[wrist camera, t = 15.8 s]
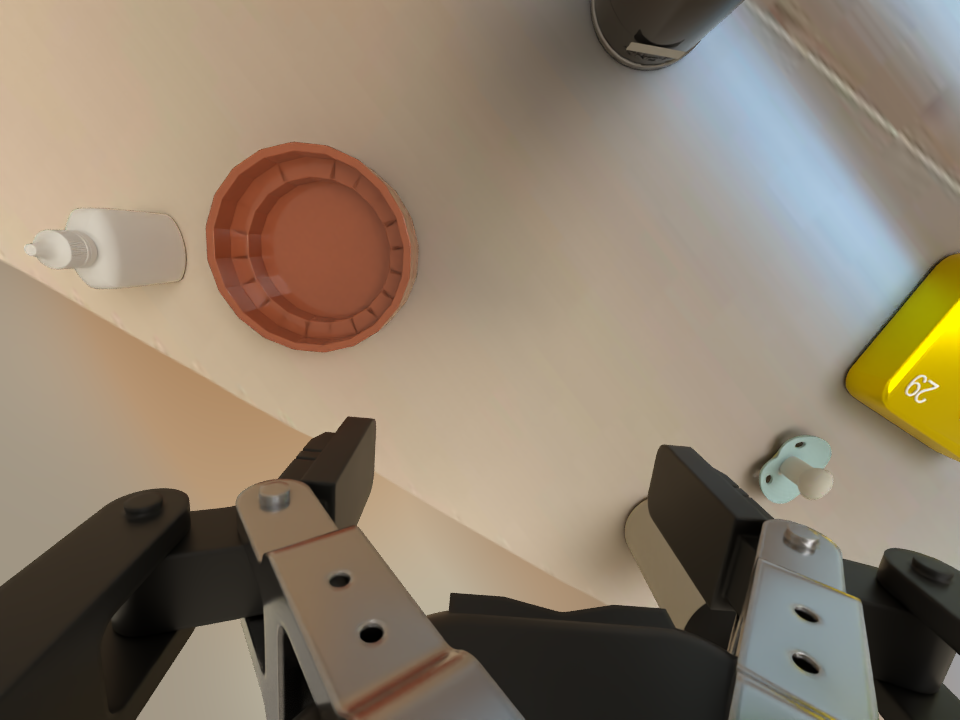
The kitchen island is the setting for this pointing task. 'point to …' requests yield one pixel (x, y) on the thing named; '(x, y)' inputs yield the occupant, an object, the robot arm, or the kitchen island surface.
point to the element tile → (918, 363)
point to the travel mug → (673, 581)
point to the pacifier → (798, 470)
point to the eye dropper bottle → (114, 248)
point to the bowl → (311, 247)
